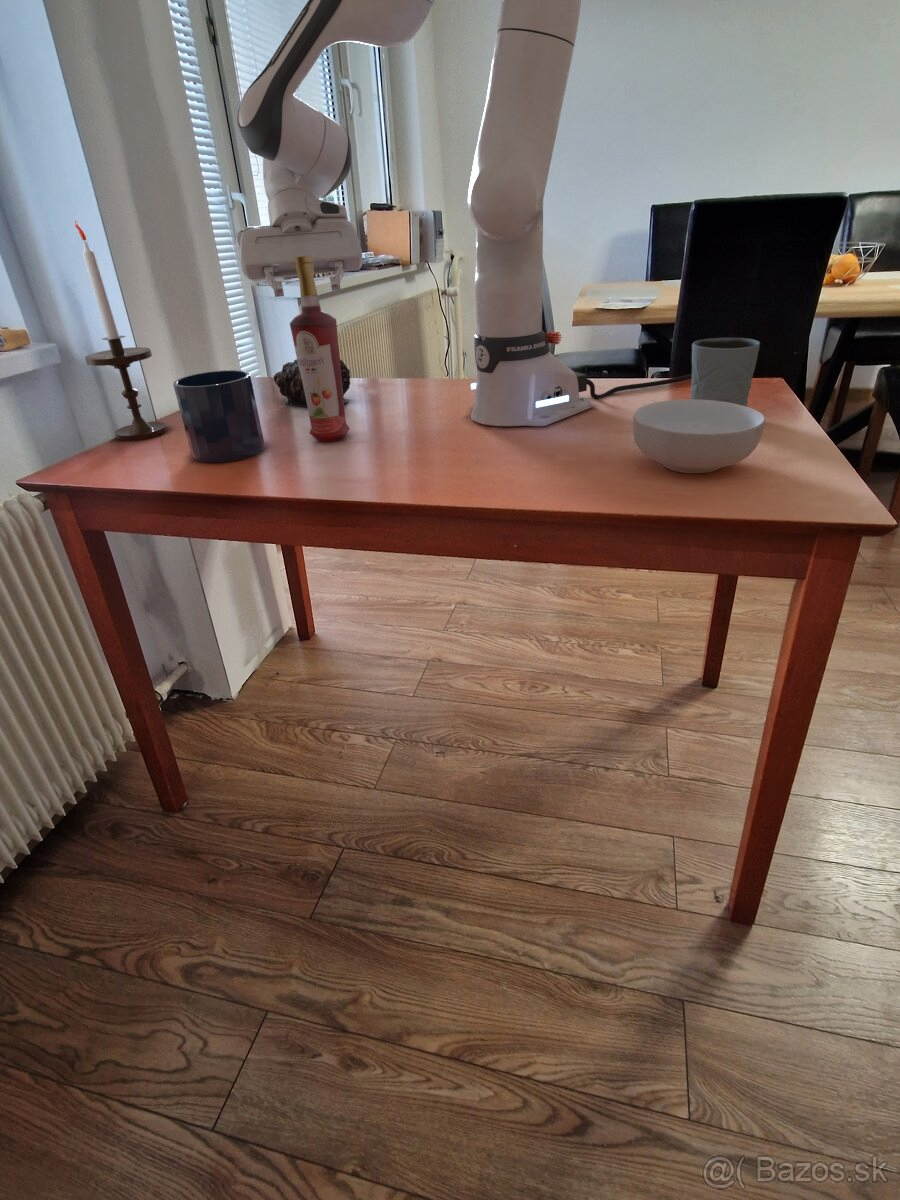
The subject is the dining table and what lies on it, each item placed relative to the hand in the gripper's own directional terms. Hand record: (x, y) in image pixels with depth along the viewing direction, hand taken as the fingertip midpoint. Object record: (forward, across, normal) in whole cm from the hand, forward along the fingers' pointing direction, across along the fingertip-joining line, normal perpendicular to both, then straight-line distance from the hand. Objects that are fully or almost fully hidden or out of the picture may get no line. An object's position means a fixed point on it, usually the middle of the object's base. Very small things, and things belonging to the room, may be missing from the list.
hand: (307, 291), depth 111 cm
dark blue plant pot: (+22, -17, +9) cm, 30 cm away
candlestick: (+9, -34, +23) cm, 42 cm away
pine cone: (+3, -2, +29) cm, 29 cm away
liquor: (+22, 0, +10) cm, 24 cm away
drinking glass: (+33, +63, -1) cm, 71 cm away
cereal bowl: (+46, +48, -14) cm, 69 cm away
